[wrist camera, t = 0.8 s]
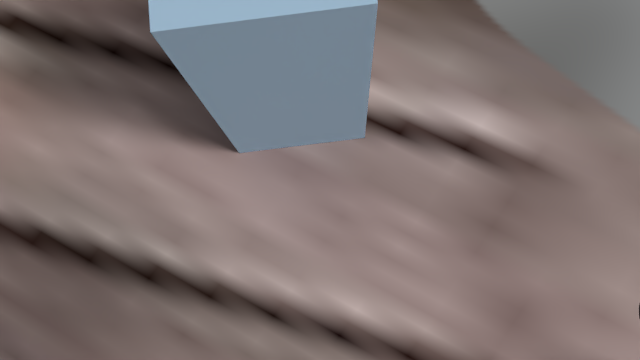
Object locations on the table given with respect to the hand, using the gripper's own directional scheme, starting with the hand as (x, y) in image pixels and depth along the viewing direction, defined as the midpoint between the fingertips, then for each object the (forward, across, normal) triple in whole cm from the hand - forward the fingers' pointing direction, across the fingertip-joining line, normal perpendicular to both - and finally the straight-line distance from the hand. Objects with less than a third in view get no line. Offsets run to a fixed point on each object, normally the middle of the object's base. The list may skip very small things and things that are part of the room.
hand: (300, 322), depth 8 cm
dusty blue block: (+15, 0, +3) cm, 15 cm away
